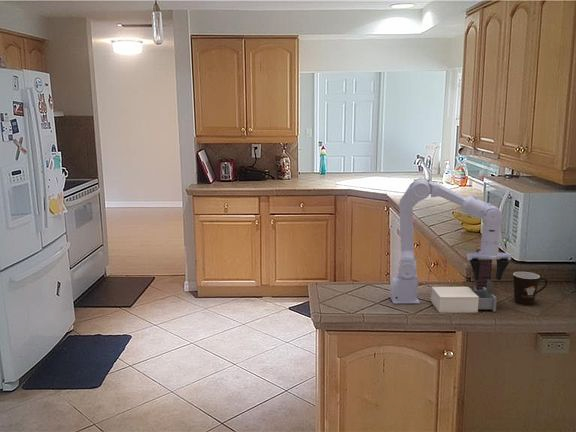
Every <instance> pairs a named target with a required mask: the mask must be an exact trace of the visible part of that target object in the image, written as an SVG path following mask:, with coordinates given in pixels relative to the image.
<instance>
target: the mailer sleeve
mask: <svg viewBox="0 0 576 432" xmlns="http://www.w3.org/2000/svg"><path fill="white" fill-rule="evenodd" d="M472 290H473V289H472V288H470V287H469V286H431V293H430V294H431V296H430V297H431V299H430V302H431V303H432V305H433V306H434V308H435V309H436V310H437V311H438V313H441V314H442V313H447V314H449V313H450V314H451V313H452V314H453V313H454V314H455V313H456V314H457V313H458V314H459V313H464V314H465V313H479V312H478V311H479V309H478V301H479V297H478V296H477V295H476V294H475V293H474V292H473V291H472Z"/></svg>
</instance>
